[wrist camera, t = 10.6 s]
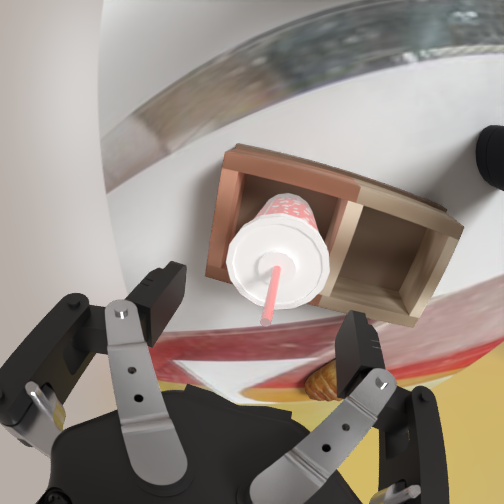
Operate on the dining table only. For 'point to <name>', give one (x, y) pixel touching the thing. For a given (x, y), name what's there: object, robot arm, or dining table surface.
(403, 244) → the cup holder
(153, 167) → the dining table surface
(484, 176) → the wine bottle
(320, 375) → the pastry
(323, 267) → the beverage cup
